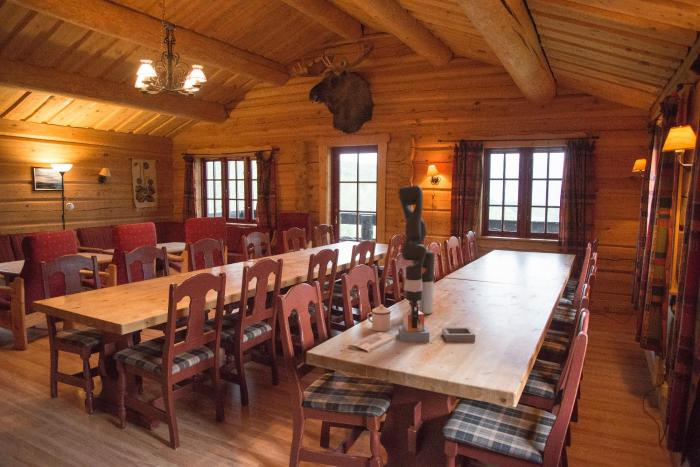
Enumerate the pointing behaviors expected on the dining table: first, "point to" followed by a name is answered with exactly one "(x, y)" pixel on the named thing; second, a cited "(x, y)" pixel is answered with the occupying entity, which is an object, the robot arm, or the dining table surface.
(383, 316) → the teacup with lid
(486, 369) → the dining table surface
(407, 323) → the small box
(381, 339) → the newspaper
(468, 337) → the frame
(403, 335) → the port sleeve
